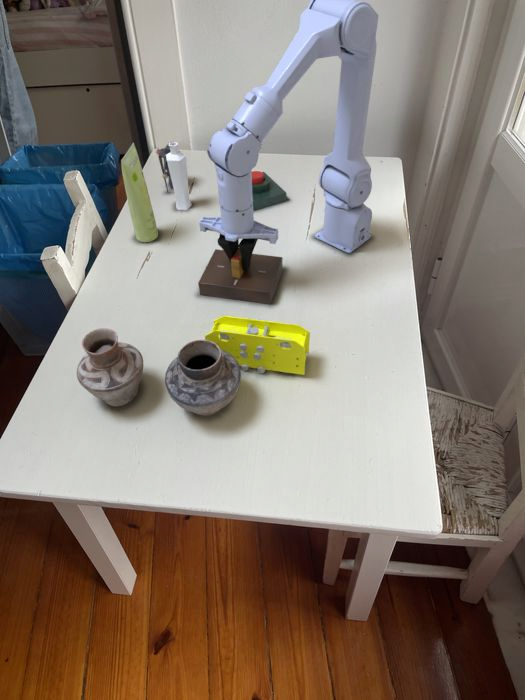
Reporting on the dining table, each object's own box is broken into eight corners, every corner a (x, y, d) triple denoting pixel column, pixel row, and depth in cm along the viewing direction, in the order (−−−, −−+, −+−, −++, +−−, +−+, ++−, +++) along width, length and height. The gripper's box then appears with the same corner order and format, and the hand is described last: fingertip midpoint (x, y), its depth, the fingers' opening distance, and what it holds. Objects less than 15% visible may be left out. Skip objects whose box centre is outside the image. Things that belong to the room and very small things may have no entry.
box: (286, 200, 116) (286, 185, 113) (248, 211, 113) (248, 196, 110) (264, 179, 124) (263, 164, 121) (228, 189, 121) (226, 174, 118)
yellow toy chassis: (208, 366, 81) (202, 331, 75) (217, 342, 85) (212, 307, 78) (303, 380, 78) (305, 344, 72) (308, 354, 82) (310, 319, 76)
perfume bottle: (194, 201, 117) (185, 139, 106) (191, 210, 114) (181, 148, 103) (176, 200, 118) (165, 139, 107) (172, 210, 115) (160, 147, 104)
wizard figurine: (165, 180, 125) (156, 133, 116) (187, 179, 125) (180, 132, 116) (162, 197, 119) (153, 149, 110) (185, 196, 119) (177, 148, 110)
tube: (163, 239, 107) (145, 152, 92) (142, 247, 105) (120, 160, 91) (152, 227, 110) (133, 142, 96) (132, 235, 108) (109, 149, 94)
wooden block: (242, 260, 96) (241, 242, 92) (250, 261, 95) (249, 243, 92) (232, 277, 92) (230, 258, 89) (240, 278, 92) (238, 260, 89)
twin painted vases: (102, 364, 82) (81, 312, 73) (248, 376, 79) (244, 323, 70) (76, 419, 74) (49, 368, 66) (236, 434, 72) (230, 383, 63)
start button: (266, 182, 115) (266, 175, 114) (252, 186, 114) (252, 179, 113) (259, 176, 118) (259, 169, 116) (246, 180, 116) (245, 173, 115)
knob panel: (282, 269, 98) (282, 256, 96) (270, 304, 91) (270, 291, 89) (216, 261, 101) (215, 248, 98) (200, 294, 94) (197, 282, 91)
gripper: (188, 209, 83) (198, 272, 92) (268, 222, 79) (270, 286, 89) (204, 188, 87) (212, 251, 97) (281, 200, 83) (281, 264, 93)
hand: (241, 267), depth 93 cm, fingers closed on wooden block, 2 cm apart
